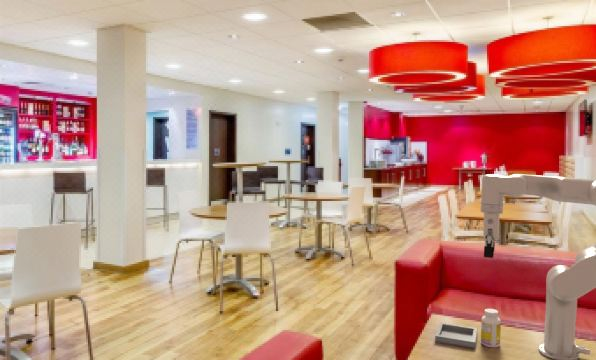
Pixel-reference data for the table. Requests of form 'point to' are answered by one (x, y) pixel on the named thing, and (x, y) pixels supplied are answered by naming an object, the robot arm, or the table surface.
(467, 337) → the tray
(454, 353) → the table surface
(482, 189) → the robot arm
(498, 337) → the supplement bottle
